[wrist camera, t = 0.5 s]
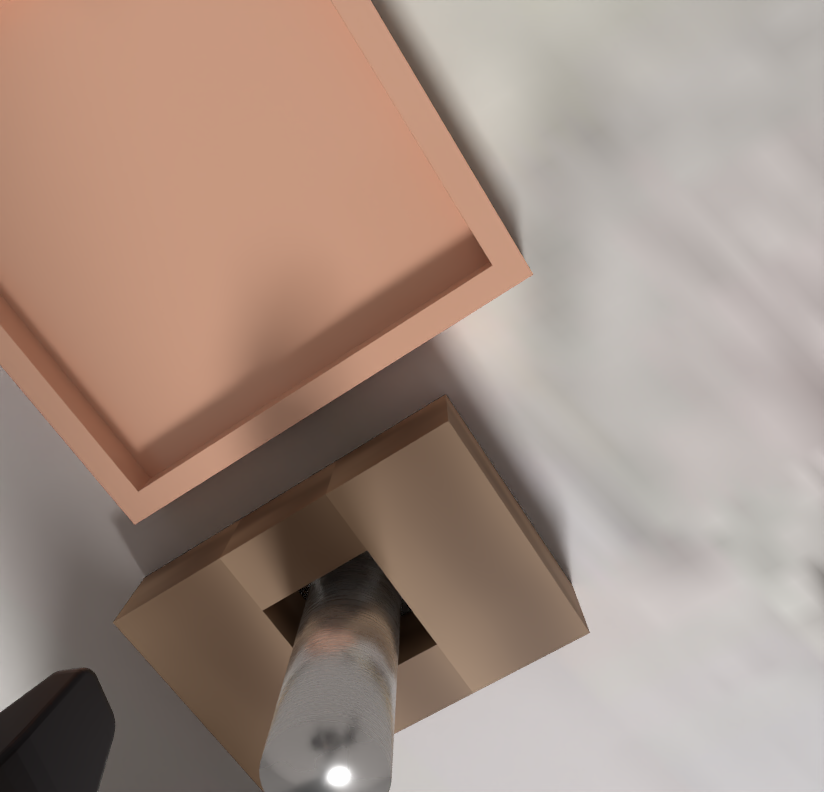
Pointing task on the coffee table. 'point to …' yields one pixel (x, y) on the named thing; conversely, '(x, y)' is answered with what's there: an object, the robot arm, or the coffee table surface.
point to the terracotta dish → (220, 225)
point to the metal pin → (339, 688)
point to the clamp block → (396, 556)
